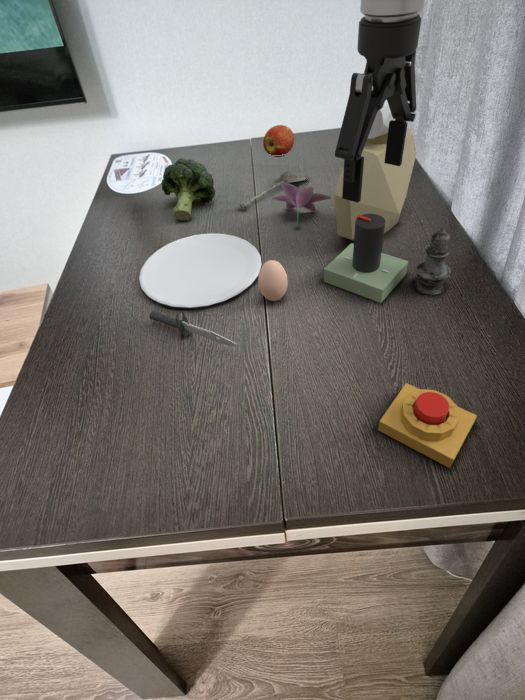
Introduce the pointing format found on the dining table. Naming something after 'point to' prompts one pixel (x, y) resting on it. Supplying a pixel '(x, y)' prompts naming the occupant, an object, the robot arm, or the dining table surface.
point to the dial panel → (365, 275)
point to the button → (431, 408)
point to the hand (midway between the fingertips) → (373, 181)
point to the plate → (200, 270)
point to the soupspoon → (285, 177)
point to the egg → (273, 280)
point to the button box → (427, 427)
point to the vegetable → (187, 185)
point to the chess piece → (434, 265)
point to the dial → (368, 242)
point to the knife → (188, 327)
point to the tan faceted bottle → (377, 180)
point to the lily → (299, 198)
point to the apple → (278, 140)
